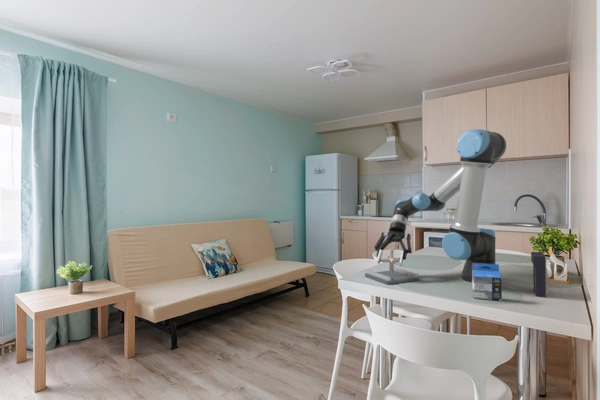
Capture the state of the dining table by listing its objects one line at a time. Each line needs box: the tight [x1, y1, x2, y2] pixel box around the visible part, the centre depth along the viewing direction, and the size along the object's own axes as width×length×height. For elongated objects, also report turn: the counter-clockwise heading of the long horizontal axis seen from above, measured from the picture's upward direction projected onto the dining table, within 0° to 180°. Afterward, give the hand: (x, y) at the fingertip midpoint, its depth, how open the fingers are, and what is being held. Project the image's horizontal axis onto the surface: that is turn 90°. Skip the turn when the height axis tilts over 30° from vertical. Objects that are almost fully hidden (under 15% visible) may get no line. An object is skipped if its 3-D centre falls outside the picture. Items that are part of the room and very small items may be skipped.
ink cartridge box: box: [471, 263, 503, 302], centre depth 118 cm, size 9×4×12 cm, turn 70°
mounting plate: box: [364, 266, 420, 285], centre depth 149 cm, size 16×18×3 cm
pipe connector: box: [380, 248, 400, 271], centre depth 149 cm, size 10×10×10 cm
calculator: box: [530, 251, 549, 298], centre depth 124 cm, size 11×4×15 cm, turn 148°
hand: (389, 263), depth 147 cm, fingers closed on pipe connector, 9 cm apart
